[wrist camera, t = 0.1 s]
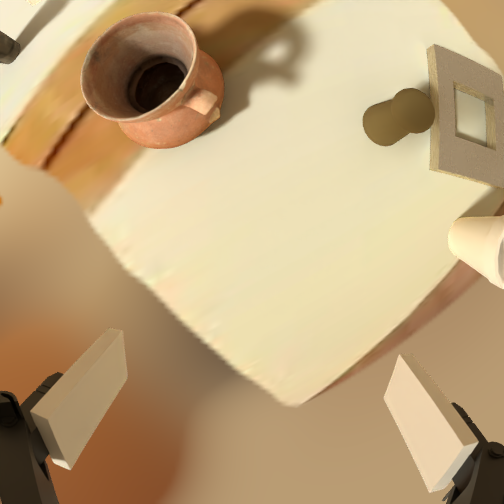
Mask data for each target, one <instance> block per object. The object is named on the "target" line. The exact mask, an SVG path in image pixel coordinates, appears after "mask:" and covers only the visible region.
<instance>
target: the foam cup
mask: <svg viewBox="0 0 504 504" xmlns="http://www.w3.org/2000/svg"><path fill="white" fill-rule="evenodd" d="M448 243H449V248H450V250H451V252H452V253H453V254H454V255H455V256H456V257H458V258H459V259H461V260H462V261H464V262H465V263H467V264H468V265H469V266H471V267H472V268H474V269H475V270H476V271H478V272H479V273H481V274H482V275H483V276H485V277H486V278H488V279H489V281H490V282H491V283H493V284H494V285H496V286H498V287H500V288H502V289H504V215H502V216H489V217H462V218H458V219H457V220H456V221H454V222H453V224H452V226H451V228H450V230H449V235H448Z"/></svg>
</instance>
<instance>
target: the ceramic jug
mask: <svg viewBox="0 0 504 504" xmlns="http://www.w3.org/2000/svg"><path fill="white" fill-rule="evenodd" d="M80 79H81V89H82V93H83V96H84V98H85V100H86V102H87V104H88V105H89V106H90V108H91V109H92V110H93V111H94V112H96V113H97V114H98V115H100V116H101V117H104V118H106V119H108V120H111V121H116V122H118V124H119V126H120V128H121V129H122V131H123V132H124V133H125V134H126V135H127V136H128V137H129V138H130V139H131V140H133V141H134V142H136V143H138V144H140V145H142V146H145V147H148V148H154V149H163V148H174V147H177V146H180V145H183V144H186V143H188V142H190V141H191V140H193V139H195V138H196V137H198V136H199V135H200V134H201V133H202V132H204V131H205V130H206V129H207V128H208V127H209V126H210V125H211V124H212V123H213V122H215V121H216V120H218V119H219V118H220V109H221V105H222V102H223V98H224V80H223V76H222V73H221V70H220V68H219V66H218V65H217V63H216V62H215V60H214V59H213V58H212V57H211V56H210V55H208V54H207V53H206V52H204V51H202V50H201V49H199V47H198V43H197V39H196V37H195V34H194V33H193V31H192V29H191V27H190V26H189V25H188V24H187V23H186V22H185V21H184V20H182V19H181V18H179V17H177V16H175V15H173V14H169V13H164V12H144V13H140V14H135V15H132V16H129V17H126V18H124V19H122V20H120V21H118V22H116V23H115V24H113V25H112V26H110V27H109V28H108V29H107V30H106V31H105V32H104V33H103V34H102V35H101V36H99V37H98V38H97V40H96V41H95V42H94V43H93V45H92V46H91V48H90V49H89V51H88V53H87V55H86V58H85V61H84V63H83V66H82V70H81V78H80Z"/></svg>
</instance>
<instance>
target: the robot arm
mask: <svg viewBox="0 0 504 504" xmlns="http://www.w3.org/2000/svg"><path fill="white" fill-rule="evenodd" d="M127 378H128V373H127V366H126V357H125V348H124V338H123V331H122V330H117V329H112V328H108V329H107V330H106V331H105V332H104V333H103V334H102V335H101V336H100V337H99V338H98V339H97V340H96V341H95V342H94V343H93V344H92V345H91V346H90V347H89V349H88V350H87V351H86V352H85V353H84V354H83V355H82V356H81V357H80V358H79V359H78V360H77V361H76V362H75V363H74V364H73V365H72V366H71V367H70V368H69V369H68V370H67V372H66V373H65V374H62V373H59V372H57V373H55V374H53V375H51V376H49V377H47V379H46V380H45V381H44V382H43V383H42V384H41V386H39V387H38V388H37V389H36V391H34V392H33V393H32V394H31V395H30V396H29V397H28V398H27V399H26V400H25V401H24V402H23V403H22V404H21V406H19V403H18V401H17V398H16V396H15V395H14V394H13V393H11V392H8V391H0V496H1V501H2V504H59V502H58V499H57V496H56V493H55V490H54V487H53V483H52V480H51V477H50V473H49V469H48V466H47V463H46V461H45V459H46V457H47V456H48V455H50V456H51V458H52V460H53V462H54V463H55V464H57V465H59V466H62V467H64V468H67V469H69V470H71V469H72V467H73V465H74V464H75V462H76V460H77V458H78V457H79V455H80V454H81V452H82V450H83V449H84V447H85V445H86V444H87V442H88V440H89V439H90V437H91V436H92V434H93V432H94V431H95V429H96V427H97V426H98V424H99V423H100V421H101V419H102V418H103V416H104V415H105V413H106V411H107V410H108V408H109V407H110V405H111V403H112V402H113V400H114V399H115V397H116V396H117V394H118V392H119V391H120V389H121V388H122V386H123V385H124V383H125V382H126V380H127ZM384 400H385V402H386V404H387V406H388V408H389V410H390V412H391V414H392V416H393V418H394V420H395V422H396V424H397V426H398V428H399V430H400V432H401V434H402V436H403V438H404V440H405V442H406V444H407V446H408V448H409V450H410V452H411V454H412V456H413V458H414V461H415V463H416V465H417V467H418V469H419V471H420V473H421V475H422V478H423V480H424V482H425V484H426V486H427V488H428V490H429V493H431V492H434V491H438V490H441V489H444V488H445V487H446V486H447V485H448V484H449V482H450V481H451V480H453V482H454V483H455V485H454V486H453V487H452V489H451V490H450V491H449V492H448V493H447V495H446V496H445V497H444V498H443V500H442V501H445V500H446V499H447V497H448V500H447V503H446V504H504V446H503V445H502V444H500V443H497V442H489V443H488V442H487V440H486V439H485V437H484V436H483V435H482V433H481V432H480V431H479V429H478V428H477V426H476V425H475V424H474V423H472V422H473V421H472V420H471V418H470V417H468V415H467V413H466V412H465V411H464V409H463V408H461V407H460V406H458V405H457V404H456V403H450V401H449V400H448V399H447V397H446V396H445V395H444V394H443V392H442V391H441V390H440V388H439V387H438V386H437V384H436V383H435V382H434V381H433V380H432V378H431V377H430V375H429V374H428V373H427V372H426V370H425V369H424V368H423V367H422V365H421V364H420V363H419V362H418V360H417V359H416V358H415V357H414V356H413V354H399V357H398V360H397V363H396V365H395V368H394V371H393V374H392V377H391V380H390V382H389V385H388V388H387V391H386V393H385V396H384Z"/></svg>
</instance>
